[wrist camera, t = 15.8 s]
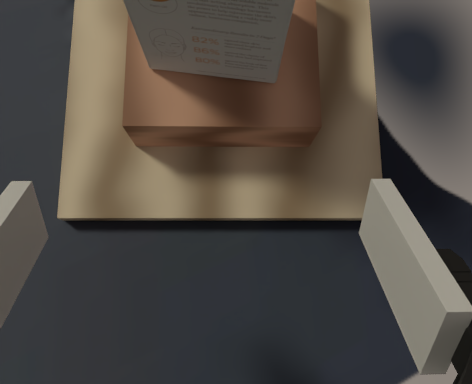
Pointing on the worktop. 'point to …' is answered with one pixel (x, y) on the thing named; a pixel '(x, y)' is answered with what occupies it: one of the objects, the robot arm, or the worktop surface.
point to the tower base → (218, 170)
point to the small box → (213, 36)
